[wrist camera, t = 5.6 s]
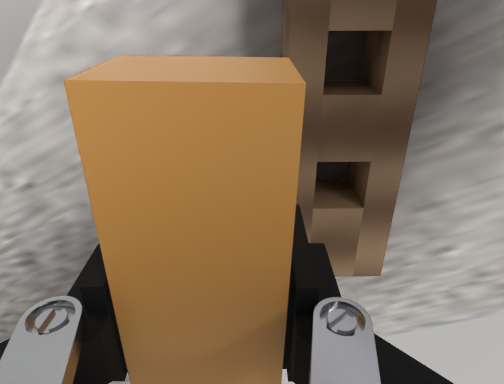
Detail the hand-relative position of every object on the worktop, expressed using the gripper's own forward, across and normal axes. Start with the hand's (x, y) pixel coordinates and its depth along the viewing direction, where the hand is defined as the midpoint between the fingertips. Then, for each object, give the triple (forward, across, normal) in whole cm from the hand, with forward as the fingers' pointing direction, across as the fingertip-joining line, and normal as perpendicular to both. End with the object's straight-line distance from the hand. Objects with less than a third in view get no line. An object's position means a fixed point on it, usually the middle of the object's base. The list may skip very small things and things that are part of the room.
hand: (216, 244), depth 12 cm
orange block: (+3, 0, 0) cm, 3 cm away
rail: (+17, -7, 0) cm, 19 cm away
